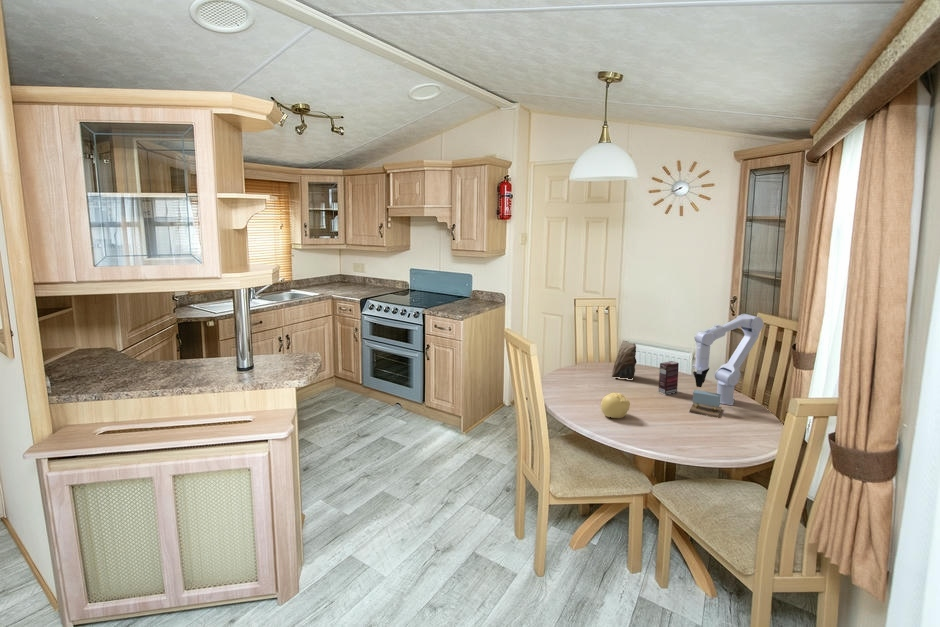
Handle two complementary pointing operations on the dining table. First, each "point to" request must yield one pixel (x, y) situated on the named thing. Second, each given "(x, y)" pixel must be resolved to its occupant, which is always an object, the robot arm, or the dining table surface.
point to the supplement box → (668, 377)
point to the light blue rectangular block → (706, 398)
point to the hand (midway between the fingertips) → (700, 384)
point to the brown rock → (625, 361)
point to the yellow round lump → (615, 405)
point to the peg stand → (705, 410)
